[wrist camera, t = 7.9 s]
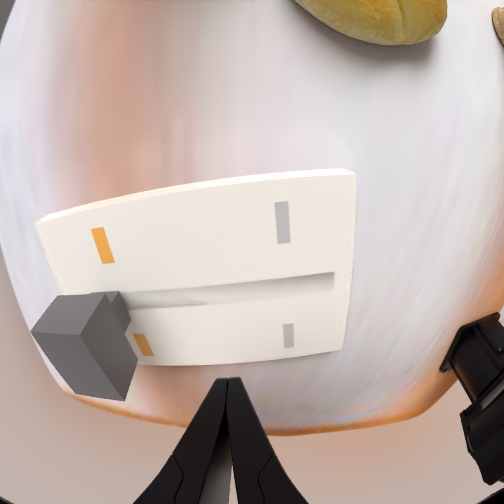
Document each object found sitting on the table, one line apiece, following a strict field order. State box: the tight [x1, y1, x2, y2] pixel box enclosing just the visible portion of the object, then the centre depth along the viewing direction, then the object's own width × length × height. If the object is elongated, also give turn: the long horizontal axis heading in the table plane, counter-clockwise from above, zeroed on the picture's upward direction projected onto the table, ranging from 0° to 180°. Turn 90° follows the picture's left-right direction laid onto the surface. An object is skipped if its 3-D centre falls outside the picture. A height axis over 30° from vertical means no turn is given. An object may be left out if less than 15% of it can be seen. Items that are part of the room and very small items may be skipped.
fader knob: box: [30, 291, 138, 401], centre depth 12 cm, size 4×3×5 cm
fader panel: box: [35, 168, 356, 366], centre depth 15 cm, size 11×17×2 cm, turn 96°
